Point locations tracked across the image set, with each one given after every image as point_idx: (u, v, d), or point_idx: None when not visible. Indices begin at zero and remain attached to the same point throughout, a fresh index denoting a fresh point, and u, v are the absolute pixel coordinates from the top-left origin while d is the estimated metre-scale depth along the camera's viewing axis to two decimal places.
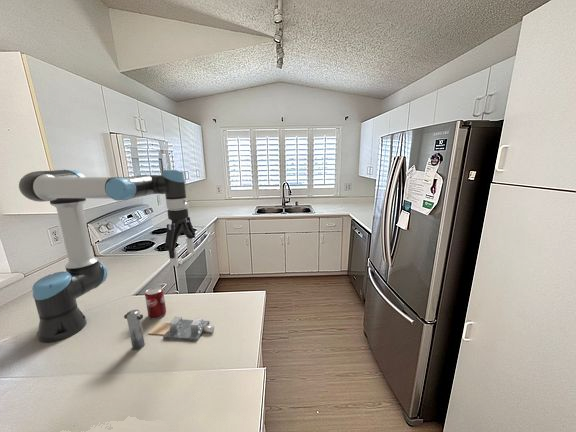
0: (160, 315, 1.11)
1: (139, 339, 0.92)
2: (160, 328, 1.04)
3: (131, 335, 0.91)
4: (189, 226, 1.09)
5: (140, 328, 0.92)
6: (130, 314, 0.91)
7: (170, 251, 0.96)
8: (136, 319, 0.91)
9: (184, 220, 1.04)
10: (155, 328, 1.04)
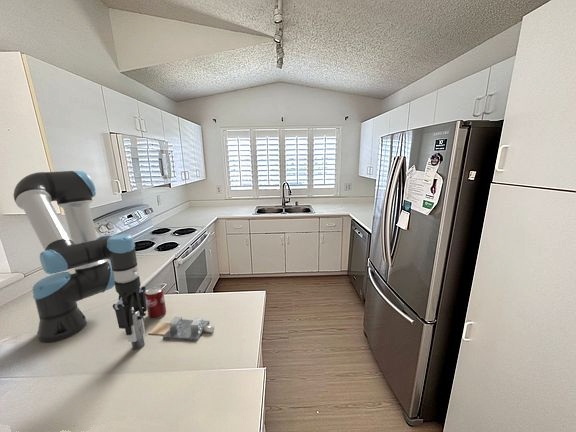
0: (160, 315, 1.11)
1: (139, 339, 0.92)
2: (160, 328, 1.04)
3: None
4: (141, 298, 0.95)
5: (140, 328, 0.92)
6: None
7: (126, 328, 0.89)
8: (136, 319, 0.91)
9: None
10: (155, 328, 1.04)
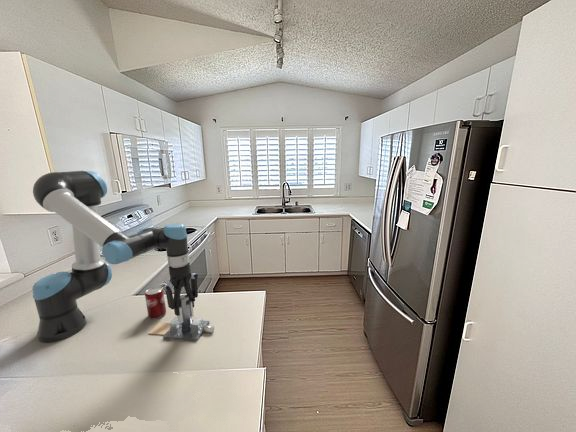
0: (160, 315, 1.11)
1: (186, 322, 1.00)
2: (160, 328, 1.04)
3: None
4: (193, 284, 1.02)
5: (188, 312, 1.00)
6: (180, 298, 0.99)
7: (174, 309, 0.97)
8: (185, 303, 0.98)
9: (188, 274, 0.99)
10: (155, 328, 1.04)
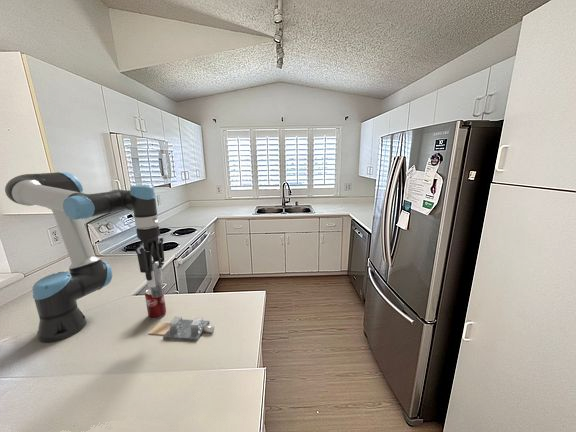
0: (160, 315, 1.11)
1: (159, 287, 0.99)
2: (160, 328, 1.04)
3: None
4: (160, 248, 1.01)
5: (159, 276, 0.99)
6: None
7: (147, 273, 0.94)
8: (157, 267, 0.97)
9: (156, 237, 0.98)
10: (155, 328, 1.04)
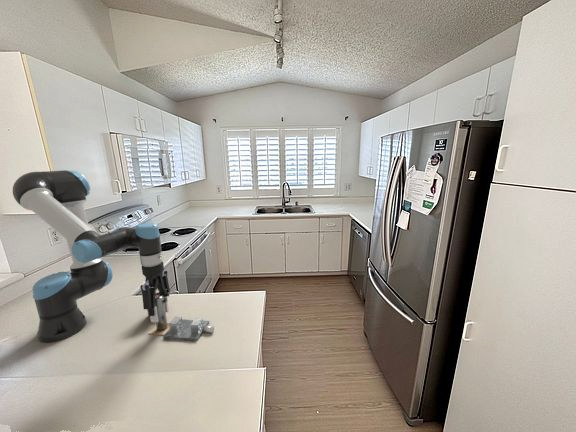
0: None
1: (163, 321, 1.02)
2: None
3: None
4: (165, 281, 1.05)
5: (164, 310, 1.02)
6: (156, 298, 1.00)
7: (150, 309, 0.96)
8: (161, 302, 1.01)
9: (160, 272, 1.01)
10: (155, 328, 1.04)
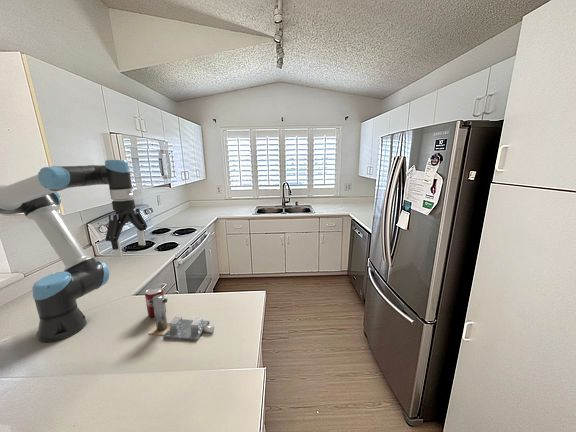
0: None
1: (164, 321, 1.02)
2: None
3: (157, 318, 1.01)
4: (139, 218, 1.08)
5: (164, 311, 1.02)
6: (156, 298, 1.00)
7: (112, 242, 0.95)
8: (162, 302, 1.00)
9: (131, 211, 1.03)
10: (155, 328, 1.04)
